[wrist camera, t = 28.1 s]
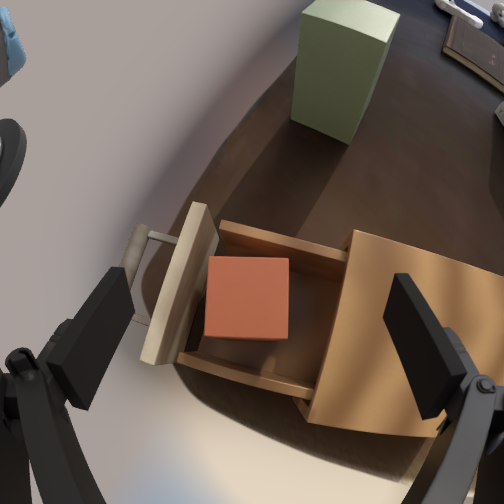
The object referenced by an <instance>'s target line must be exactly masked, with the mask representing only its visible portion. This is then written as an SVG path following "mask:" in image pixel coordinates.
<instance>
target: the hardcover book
mask: <svg viewBox="0 0 504 504" xmlns="http://www.w3.org/2000/svg"><path fill="white" fill-rule="evenodd" d="M442 52H443V54H445V55H446V56H448V57H450V58H451V59H453V60H455V61H456V62H458V63H459V64H461V65H462V66H464V67H465V68H467V69H468V70H470V71H471V72H473V73H474V74H476V75H477V76H479V77H480V78H481V79H483V80H484V81H486V82H487V83H488V84H490V85H491V86H492V87H494V88H495V89H496V90H498V91H499V92H500V93H501V94H503V95H504V47H503V46H502V45H500V44H499V43H498V42H496V41H495V40H493V39H492V38H491V37H489V36H488V35H486V34H485V33H483V32H482V31H480V30H479V29H477V28H476V27H474V26H472V25H471V24H469V23H468V22H466V21H464V20H463V19H461V18H459V17H458V16H456V15H453V16H452V18H451V21H450V25H449V28H448V31H447V35H446V38H445V41H444V45H443V48H442Z"/></svg>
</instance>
